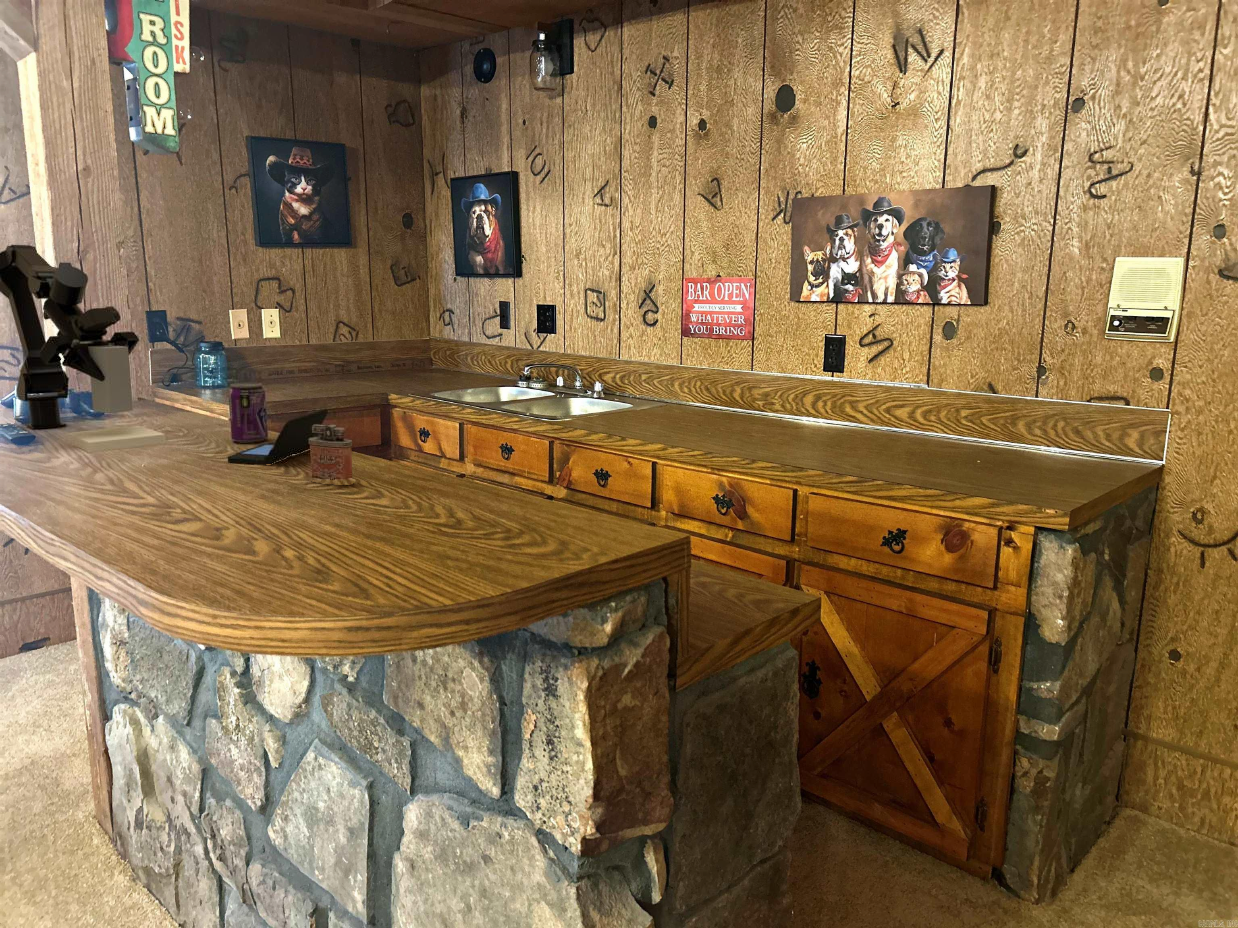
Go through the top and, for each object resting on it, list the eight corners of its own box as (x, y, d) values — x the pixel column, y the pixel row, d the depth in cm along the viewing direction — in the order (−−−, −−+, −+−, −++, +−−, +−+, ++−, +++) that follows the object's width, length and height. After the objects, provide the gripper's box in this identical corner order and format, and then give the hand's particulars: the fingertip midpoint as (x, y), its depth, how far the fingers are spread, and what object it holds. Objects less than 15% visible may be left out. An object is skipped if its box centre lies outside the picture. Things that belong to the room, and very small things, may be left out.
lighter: (358, 482, 153) (355, 425, 151) (346, 486, 150) (343, 428, 148) (318, 478, 155) (315, 421, 153) (306, 482, 152) (303, 424, 150)
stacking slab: (67, 445, 182) (66, 433, 182) (140, 437, 192) (139, 425, 192) (90, 455, 173) (89, 442, 172) (166, 446, 183) (165, 434, 182)
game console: (270, 448, 181) (268, 404, 179) (332, 452, 179) (330, 408, 177) (224, 464, 166) (220, 416, 164) (290, 468, 164) (288, 420, 162)
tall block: (93, 411, 180) (87, 346, 177) (115, 408, 184) (110, 345, 181) (110, 413, 178) (105, 348, 175) (132, 410, 182) (128, 346, 180)
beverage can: (255, 445, 183) (251, 387, 181) (224, 443, 184) (220, 385, 182) (275, 439, 190) (271, 383, 187) (245, 437, 191) (241, 381, 189)
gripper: (43, 293, 169) (90, 355, 167) (128, 292, 186) (172, 348, 184) (19, 333, 173) (65, 393, 172) (105, 328, 190) (147, 383, 189)
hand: (115, 378), depth 179 cm, fingers closed on tall block, 5 cm apart
